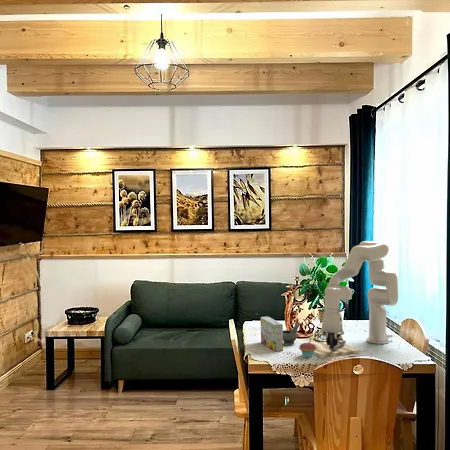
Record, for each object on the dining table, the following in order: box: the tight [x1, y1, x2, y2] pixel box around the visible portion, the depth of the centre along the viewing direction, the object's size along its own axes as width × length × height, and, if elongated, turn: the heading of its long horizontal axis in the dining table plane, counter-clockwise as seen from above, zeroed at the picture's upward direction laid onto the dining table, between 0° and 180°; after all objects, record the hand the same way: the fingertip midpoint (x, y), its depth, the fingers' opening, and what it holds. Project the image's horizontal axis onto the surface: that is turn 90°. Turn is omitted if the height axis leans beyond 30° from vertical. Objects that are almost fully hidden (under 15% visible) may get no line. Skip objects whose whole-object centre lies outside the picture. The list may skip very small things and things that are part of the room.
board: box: [312, 341, 361, 359], centre depth 290 cm, size 24×22×2 cm
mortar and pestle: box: [283, 322, 301, 346], centre depth 304 cm, size 11×9×12 cm
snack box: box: [260, 316, 284, 353], centre depth 298 cm, size 21×6×15 cm, turn 18°
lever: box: [329, 332, 347, 351], centre depth 289 cm, size 20×3×10 cm, turn 148°
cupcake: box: [298, 334, 316, 358], centre depth 278 cm, size 9×8×12 cm
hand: (331, 345), depth 281 cm, fingers closed on lever, 3 cm apart
